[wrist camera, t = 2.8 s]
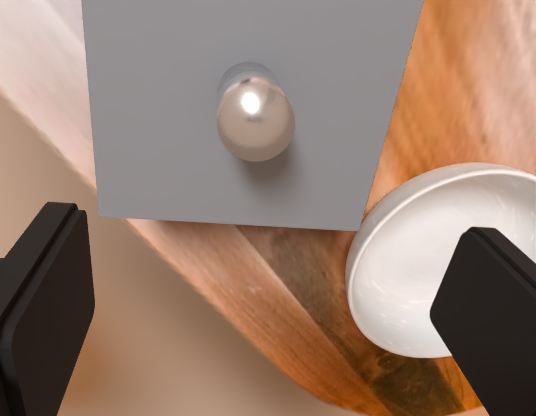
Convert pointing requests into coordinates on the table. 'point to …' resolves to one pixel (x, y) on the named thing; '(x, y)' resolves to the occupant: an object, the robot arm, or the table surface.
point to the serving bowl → (429, 247)
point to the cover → (243, 106)
